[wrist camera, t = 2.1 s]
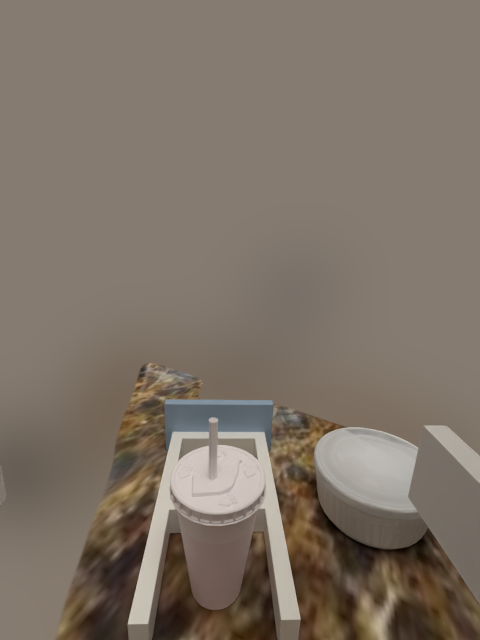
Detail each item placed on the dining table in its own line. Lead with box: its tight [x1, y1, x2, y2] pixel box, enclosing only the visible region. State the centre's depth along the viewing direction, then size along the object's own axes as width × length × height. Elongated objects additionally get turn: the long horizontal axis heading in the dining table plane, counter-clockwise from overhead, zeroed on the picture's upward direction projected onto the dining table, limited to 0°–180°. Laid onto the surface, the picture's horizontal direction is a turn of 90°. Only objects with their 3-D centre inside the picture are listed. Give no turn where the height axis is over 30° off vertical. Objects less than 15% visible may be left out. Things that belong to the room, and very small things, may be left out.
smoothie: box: [169, 418, 266, 610], centre depth 23 cm, size 6×6×14 cm
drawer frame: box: [128, 400, 301, 640], centre depth 30 cm, size 12×20×6 cm, turn 3°
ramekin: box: [314, 427, 428, 549], centre depth 32 cm, size 11×11×5 cm
